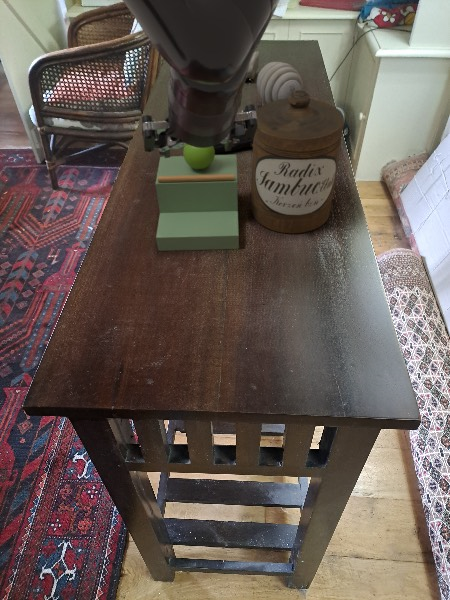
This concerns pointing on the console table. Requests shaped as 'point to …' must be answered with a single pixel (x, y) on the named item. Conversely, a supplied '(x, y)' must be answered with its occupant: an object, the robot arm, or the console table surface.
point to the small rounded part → (198, 156)
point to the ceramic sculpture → (253, 65)
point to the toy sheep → (277, 82)
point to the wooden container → (295, 163)
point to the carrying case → (241, 144)
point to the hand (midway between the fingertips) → (196, 147)
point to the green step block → (197, 204)
